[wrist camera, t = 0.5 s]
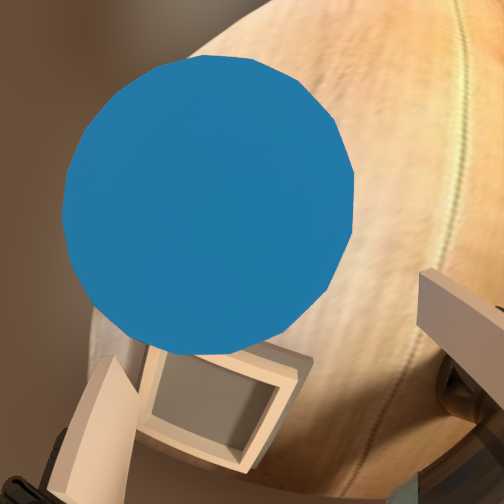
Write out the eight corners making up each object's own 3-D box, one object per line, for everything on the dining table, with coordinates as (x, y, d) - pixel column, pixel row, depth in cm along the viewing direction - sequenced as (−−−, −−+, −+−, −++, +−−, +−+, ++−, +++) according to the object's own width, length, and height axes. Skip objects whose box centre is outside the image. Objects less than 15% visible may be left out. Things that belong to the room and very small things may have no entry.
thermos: (300, 278, 33) (340, 376, 8) (209, 271, 34) (60, 330, 9) (307, 185, 33) (354, 55, 8) (216, 180, 34) (87, 73, 9)
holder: (312, 357, 33) (316, 373, 29) (256, 463, 35) (253, 482, 30) (162, 300, 35) (147, 307, 31) (134, 413, 37) (121, 428, 32)
